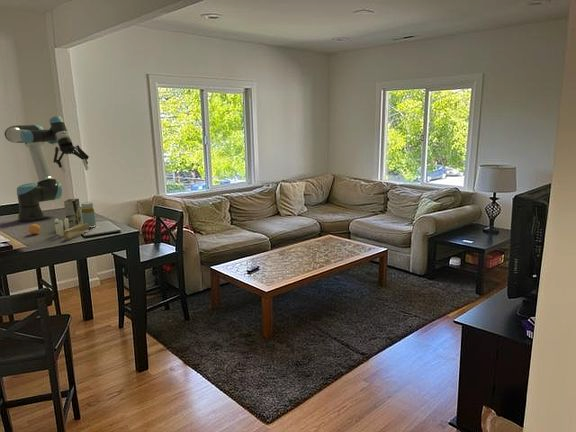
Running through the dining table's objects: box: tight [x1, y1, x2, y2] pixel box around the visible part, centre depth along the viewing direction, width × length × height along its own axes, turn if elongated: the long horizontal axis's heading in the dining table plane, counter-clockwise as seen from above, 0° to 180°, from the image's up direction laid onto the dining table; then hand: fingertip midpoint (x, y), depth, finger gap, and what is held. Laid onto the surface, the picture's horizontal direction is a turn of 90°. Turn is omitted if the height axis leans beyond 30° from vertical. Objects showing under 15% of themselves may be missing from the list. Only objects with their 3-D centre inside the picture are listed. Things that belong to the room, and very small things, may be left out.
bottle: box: [81, 201, 97, 226], centre depth 264 cm, size 7×7×15 cm
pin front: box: [54, 218, 60, 236], centre depth 248 cm, size 2×2×9 cm
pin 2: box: [63, 217, 70, 230], centre depth 250 cm, size 2×2×9 cm
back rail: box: [63, 222, 90, 241], centre depth 247 cm, size 3×18×5 cm, turn 171°
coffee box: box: [63, 198, 83, 228], centre depth 270 cm, size 9×6×16 cm
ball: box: [28, 223, 41, 235], centre depth 251 cm, size 6×6×6 cm
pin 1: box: [58, 219, 64, 237], centre depth 245 cm, size 2×2×9 cm
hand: (76, 170), depth 262 cm, fingers open, 13 cm apart
